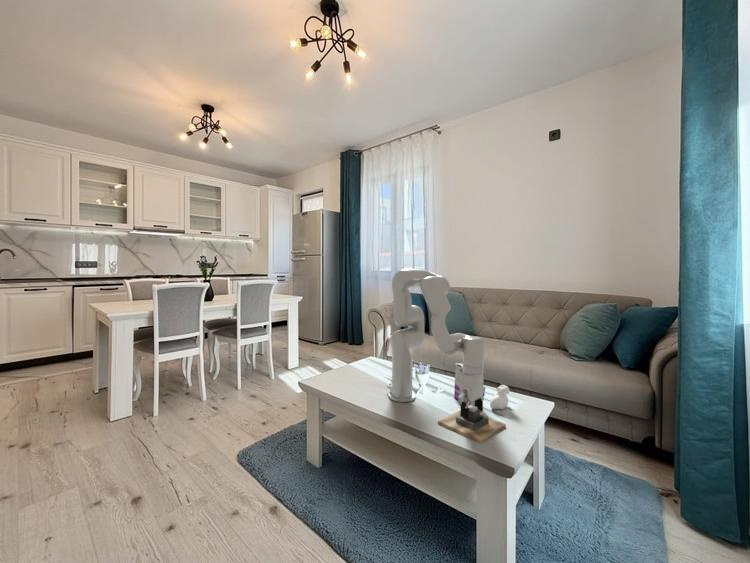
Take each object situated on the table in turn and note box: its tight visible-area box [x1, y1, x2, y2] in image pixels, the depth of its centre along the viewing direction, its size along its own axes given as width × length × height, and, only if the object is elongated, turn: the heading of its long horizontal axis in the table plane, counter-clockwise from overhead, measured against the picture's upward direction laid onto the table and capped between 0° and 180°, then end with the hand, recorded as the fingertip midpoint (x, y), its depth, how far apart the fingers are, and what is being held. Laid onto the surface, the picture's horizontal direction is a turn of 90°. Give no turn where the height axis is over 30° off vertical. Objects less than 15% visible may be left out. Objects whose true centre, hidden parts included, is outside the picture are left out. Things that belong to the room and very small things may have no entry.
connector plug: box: [463, 405, 481, 423], centre depth 119 cm, size 4×4×6 cm
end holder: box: [437, 409, 507, 444], centre depth 119 cm, size 18×18×3 cm
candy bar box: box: [453, 362, 475, 406], centre depth 142 cm, size 11×5×16 cm, turn 23°
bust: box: [489, 384, 510, 410], centre depth 135 cm, size 12×8×11 cm
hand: (471, 413), depth 119 cm, fingers open, 9 cm apart
